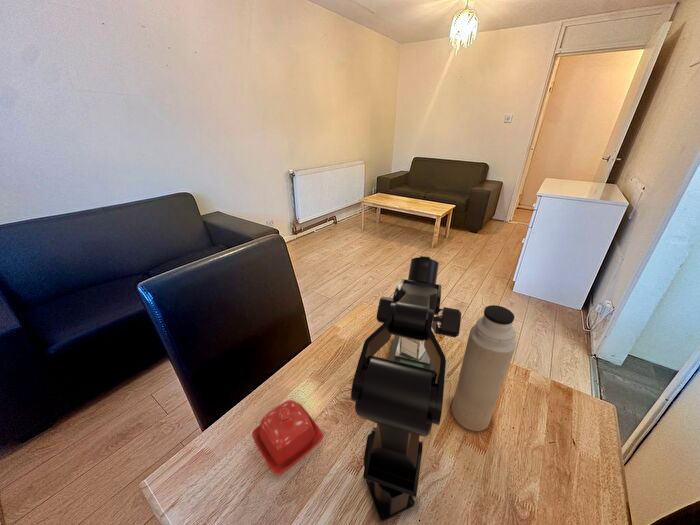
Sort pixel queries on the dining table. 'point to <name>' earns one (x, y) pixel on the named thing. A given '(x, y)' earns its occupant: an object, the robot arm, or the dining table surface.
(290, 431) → the butter dish
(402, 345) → the syrup box
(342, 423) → the dining table surface
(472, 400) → the thermos bottle
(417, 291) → the robot arm
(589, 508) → the dining table surface
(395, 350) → the scale
